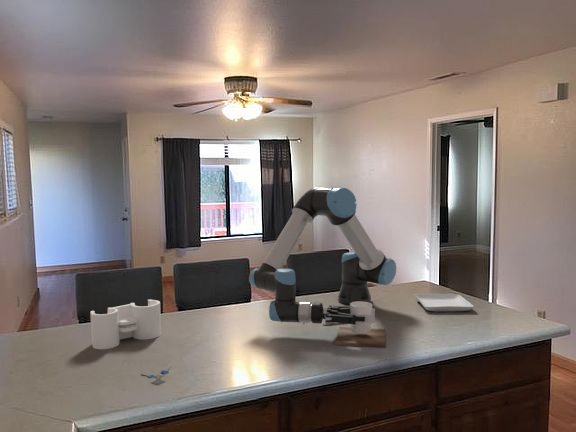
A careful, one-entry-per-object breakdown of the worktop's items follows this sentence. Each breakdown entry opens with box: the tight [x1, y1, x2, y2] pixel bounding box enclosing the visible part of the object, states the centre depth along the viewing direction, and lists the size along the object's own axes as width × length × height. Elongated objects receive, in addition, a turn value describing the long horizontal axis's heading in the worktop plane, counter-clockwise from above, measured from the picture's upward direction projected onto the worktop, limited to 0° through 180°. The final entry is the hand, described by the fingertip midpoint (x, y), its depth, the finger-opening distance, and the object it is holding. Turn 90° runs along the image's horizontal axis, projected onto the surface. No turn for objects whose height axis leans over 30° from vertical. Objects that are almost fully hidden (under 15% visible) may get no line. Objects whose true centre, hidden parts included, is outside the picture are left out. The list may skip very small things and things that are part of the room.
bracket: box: [89, 299, 162, 350], centre depth 176 cm, size 25×10×12 cm, turn 132°
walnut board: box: [335, 326, 386, 349], centre depth 176 cm, size 17×17×1 cm
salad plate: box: [413, 293, 475, 312], centre depth 216 cm, size 21×21×3 cm
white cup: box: [349, 301, 373, 334], centre depth 175 cm, size 8×8×10 cm
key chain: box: [140, 365, 173, 386], centre depth 145 cm, size 14×8×1 cm, turn 4°
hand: (374, 315), depth 174 cm, fingers closed on white cup, 8 cm apart
